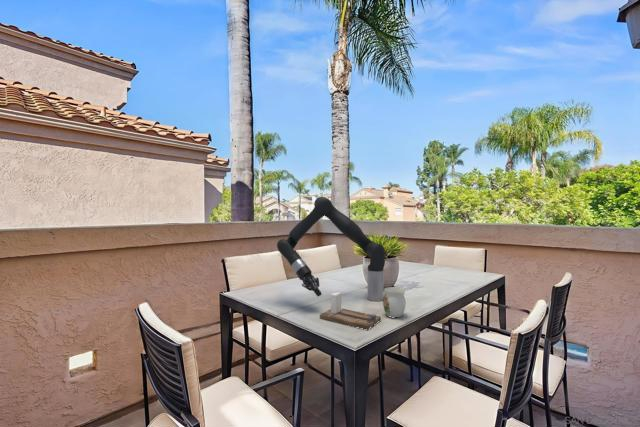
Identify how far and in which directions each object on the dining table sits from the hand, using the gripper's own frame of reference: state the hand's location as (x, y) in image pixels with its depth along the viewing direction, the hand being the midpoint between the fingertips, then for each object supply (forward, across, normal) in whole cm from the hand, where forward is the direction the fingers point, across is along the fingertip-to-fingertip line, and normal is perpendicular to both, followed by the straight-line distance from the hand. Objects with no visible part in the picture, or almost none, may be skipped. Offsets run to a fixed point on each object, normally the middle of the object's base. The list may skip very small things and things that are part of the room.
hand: (319, 295), depth 161 cm
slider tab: (+12, 0, -2) cm, 12 cm away
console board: (+19, 0, -6) cm, 20 cm away
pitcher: (+30, +18, -16) cm, 38 cm away
